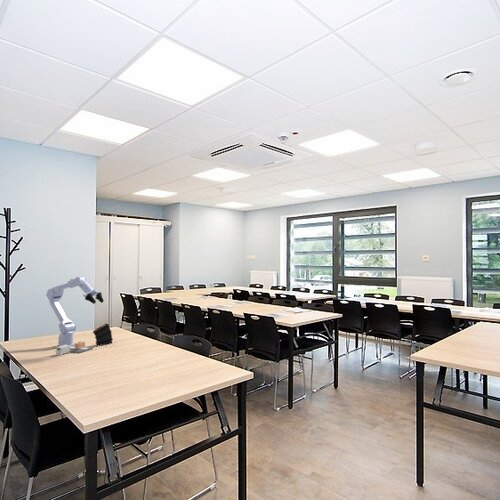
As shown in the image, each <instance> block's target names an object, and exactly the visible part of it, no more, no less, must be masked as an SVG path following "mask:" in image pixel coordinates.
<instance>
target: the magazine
mask: <svg viewBox="0 0 500 500" xmlns="http://www.w3.org/2000/svg"><path fill="white" fill-rule="evenodd" d="M92 333H93V334H94V336H95V337H94V338H95V345H96V346H104V345H110V344H113V340H114V339H113V334H112V330H111V328H110V324H108V323H105V324H103V325H100V326H99V327H98V328H96V329H94V330H93V331H92Z"/></svg>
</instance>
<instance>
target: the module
mask: <svg viewBox="0 0 500 500" xmlns="http://www.w3.org/2000/svg"><path fill="white" fill-rule="evenodd" d="M55 348H56V349H55V351H56V354H55V355H56V356H63V354H70V353H71V352H70V345H63V346H57V347H55Z"/></svg>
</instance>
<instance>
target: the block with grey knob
mask: <svg viewBox="0 0 500 500" xmlns="http://www.w3.org/2000/svg"><path fill="white" fill-rule="evenodd" d="M74 344H75V345H74V346H75V349H80V348H83V347H86V342H85V341H79V342H75V343H74Z"/></svg>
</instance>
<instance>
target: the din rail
mask: <svg viewBox="0 0 500 500" xmlns="http://www.w3.org/2000/svg"><path fill="white" fill-rule="evenodd" d="M65 345H70V344H65ZM61 346H63V345H61ZM91 350H94V347H91V346H90V347H88V346H85V347H83V348H80V349H75V345H72V346H70V353H75V354H81V353H85V352H88V351H91Z"/></svg>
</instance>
